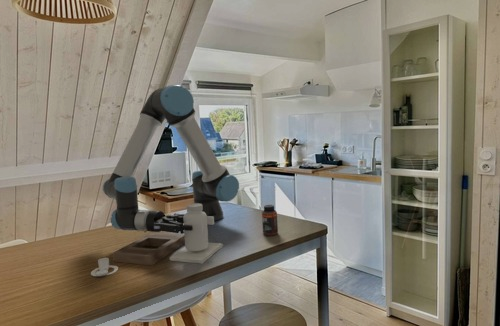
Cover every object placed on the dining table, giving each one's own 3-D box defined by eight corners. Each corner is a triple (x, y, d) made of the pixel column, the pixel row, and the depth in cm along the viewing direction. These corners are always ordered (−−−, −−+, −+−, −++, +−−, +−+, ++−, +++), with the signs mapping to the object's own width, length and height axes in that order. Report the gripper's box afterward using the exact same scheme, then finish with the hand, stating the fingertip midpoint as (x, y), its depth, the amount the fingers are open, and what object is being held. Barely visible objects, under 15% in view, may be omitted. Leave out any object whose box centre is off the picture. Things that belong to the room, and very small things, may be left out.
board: (193, 243, 129) (193, 241, 129) (222, 246, 125) (222, 243, 125) (169, 260, 114) (169, 257, 114) (202, 263, 110) (202, 260, 110)
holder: (152, 239, 136) (152, 232, 136) (186, 242, 131) (185, 234, 131) (113, 261, 116) (112, 252, 115) (151, 265, 111) (150, 256, 110)
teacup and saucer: (104, 280, 102) (102, 266, 102) (82, 277, 105) (81, 264, 105) (123, 268, 111) (122, 255, 110) (103, 266, 113) (102, 253, 113)
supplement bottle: (278, 231, 139) (277, 203, 138) (277, 236, 133) (276, 207, 132) (263, 231, 140) (262, 204, 139) (262, 236, 134) (261, 207, 133)
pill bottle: (213, 245, 121) (210, 203, 119) (198, 253, 114) (195, 208, 112) (195, 242, 125) (193, 201, 123) (180, 249, 118) (177, 206, 116)
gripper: (167, 222, 135) (221, 226, 127) (133, 240, 115) (194, 245, 108) (166, 204, 134) (220, 206, 126) (131, 218, 114) (192, 221, 107)
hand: (208, 224), depth 117 cm, fingers closed on pill bottle, 8 cm apart
